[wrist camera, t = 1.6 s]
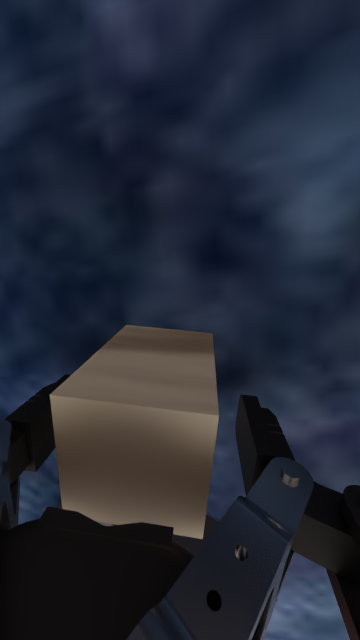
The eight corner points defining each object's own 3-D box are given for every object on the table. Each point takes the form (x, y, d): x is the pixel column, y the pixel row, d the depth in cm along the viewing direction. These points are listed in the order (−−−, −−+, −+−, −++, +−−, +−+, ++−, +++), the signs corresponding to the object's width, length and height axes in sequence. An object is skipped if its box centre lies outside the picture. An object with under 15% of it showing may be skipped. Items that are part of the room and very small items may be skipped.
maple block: (126, 324, 14) (49, 394, 7) (212, 333, 13) (219, 416, 7) (126, 398, 15) (62, 515, 8) (204, 408, 15) (202, 539, 8)
